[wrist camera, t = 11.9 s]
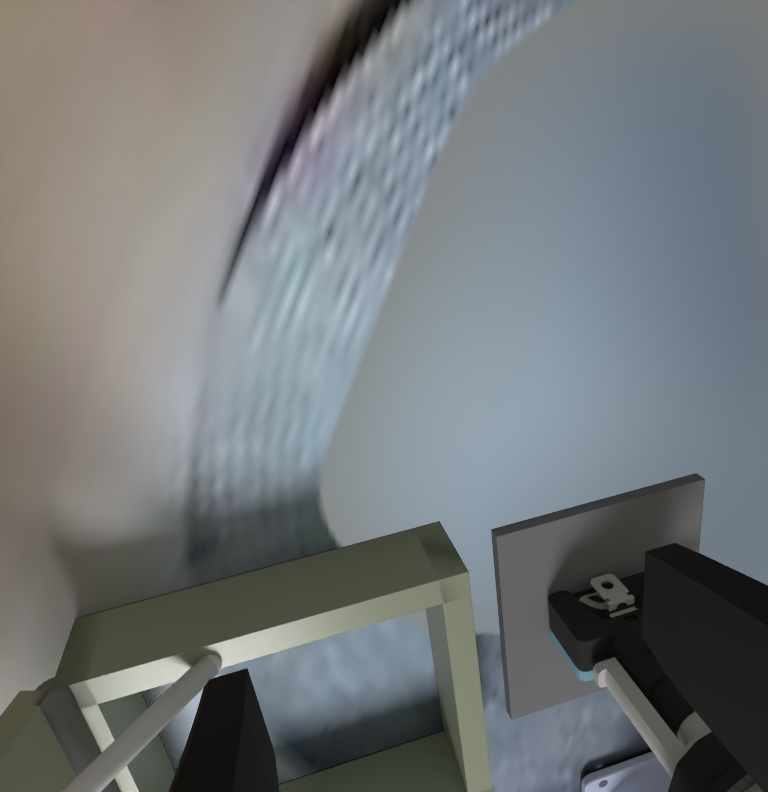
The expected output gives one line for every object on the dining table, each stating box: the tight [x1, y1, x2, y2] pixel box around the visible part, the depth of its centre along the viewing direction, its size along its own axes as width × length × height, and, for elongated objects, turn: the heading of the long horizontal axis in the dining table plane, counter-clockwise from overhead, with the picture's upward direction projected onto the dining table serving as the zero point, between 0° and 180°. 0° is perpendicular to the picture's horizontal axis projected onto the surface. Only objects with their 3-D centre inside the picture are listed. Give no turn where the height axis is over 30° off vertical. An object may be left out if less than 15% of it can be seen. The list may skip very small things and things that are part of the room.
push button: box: [548, 572, 763, 792], centre depth 20 cm, size 7×5×10 cm
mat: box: [491, 474, 705, 720], centre depth 25 cm, size 9×10×1 cm
